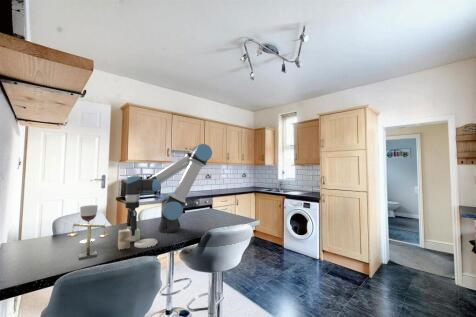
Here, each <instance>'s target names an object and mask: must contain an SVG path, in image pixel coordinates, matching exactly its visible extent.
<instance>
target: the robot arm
mask: <svg viewBox="0 0 476 317" xmlns="http://www.w3.org/2000/svg"><path fill="white" fill-rule="evenodd" d="M212 156H213V150H212V147H210V145H208V144H206V143H199V144H198V145H196V146H194V147H193V148H191V150H190V151H188V152H187V153H185V154H184V156H182V157H181V158H179V159H178V160H176V161H174V162H173V163H171V164H170V165H168V166H167V167H165V168H164V169H162V170H160V171H159V172H157V173H155V174H154V175H151V176H150V177H149V178H147V179H143V178H141V176H140V175H128V176H127V177H126V185H125V186H126V187H125V196H124V198H125V204H124V206H125V209H127V215H126V217H127V218H126V229H130V228H131V229H130V243H131V242H136V241H135V233H136V229H137V228H138V227H137V226H138V225H137V224H138V222H137V221H138V220H137V219H138V217H137V215H138V211H137V210H136V209H138V208H140V198H141V197H140V195H141V194H140V193H141V192H159V191H160V190H161V184H163V183H164V182H166V181H167V180H169V179H171V178H172V177H174V176H175V175H177V174H178V173H179V172H181V171H183V170H185V171H184V173H183V175H182V177H181V178H180V180H179V183H178V184H177V186H176V187H175V190H174V191H173V193H171V194H169V196H163V197H162V198H161V212H160V214H161V215H160V221H159V224H158V227H157V231H158V232H159V233H164V234H165V233H166V234H167V233H174V232H175V233H177V232H178V231H181V226H182V224H181V223H180V220H179V218H181V216H182V214H183V211H184V208H185V206H186V204H187V201H186V198H187V196H188V194H189V192H190V191H191V188H192V187H193V184H194V183H195V181H196V180H197V177H198V175H199V174H200V172H201V170H202V168H204V167H206V164H207V163H208V161H209V160H210V159H211V158H212Z"/></svg>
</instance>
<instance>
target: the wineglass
mask: <svg viewBox="0 0 476 317" xmlns="http://www.w3.org/2000/svg"><path fill="white" fill-rule="evenodd" d="M98 207H99V206H98V205H97V204H96V205H95V204H91V205H82V206H80V208H79V211H80V217H81V219H82V220H83V221H85V222H87V225H90V222H91V221H92V220H94V219H95V218H96V216H97V214H98V209H99V208H98ZM86 231H88V227H86ZM91 241H92V242H95V241H96V239H95V238H91ZM91 241H90V243H92V242H91ZM86 242H87V238H86V239H82V240H80V241H79V243H80V244H87V243H86Z"/></svg>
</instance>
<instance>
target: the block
mask: <svg viewBox="0 0 476 317" xmlns="http://www.w3.org/2000/svg"><path fill="white" fill-rule="evenodd" d="M117 234H118V235H117V248H118V250H120V249H121V250H125V248H126V249H130V248H131V242H130V230H129V229H127V228H125V229H124V228H123V229H118V233H117ZM121 250H120V251H121Z"/></svg>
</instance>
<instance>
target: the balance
mask: <svg viewBox="0 0 476 317" xmlns="http://www.w3.org/2000/svg"><path fill="white" fill-rule="evenodd" d="M74 227H86V228H87V227H88V231H87V230H86V231H87V232H86V239H87V243H86V252H83V253H79V254H78V260H84V259H90V258H94V257H97V256H98V253H97V250H93V251H91V242H90V241H91V239H92V238H91V237H92V234H91V233H92V228H103V234H100V235H98V238H100V239H104V238H108V237H110V234H109V233H105V232H106V225H103V224H101V225H100V224H89V225H88V223H87V224H86V223H85V224H84V223H73V224H72V231H74ZM77 236H79V233H78V232H72V233H68V234H66V237H67V238H72V237H77Z"/></svg>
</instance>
